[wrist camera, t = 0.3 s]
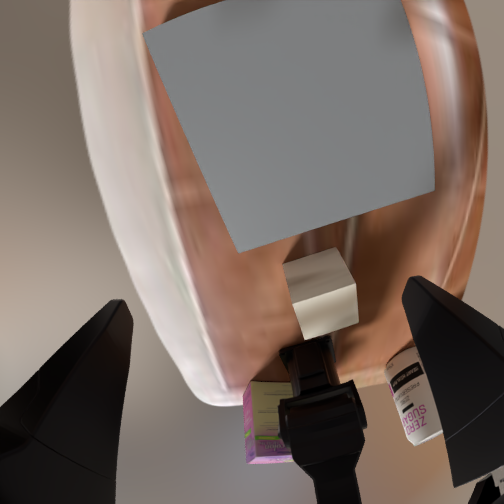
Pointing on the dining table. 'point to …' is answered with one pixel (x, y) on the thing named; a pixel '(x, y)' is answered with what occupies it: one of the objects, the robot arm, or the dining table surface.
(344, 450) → the robot arm
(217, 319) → the dining table surface
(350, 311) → the cube
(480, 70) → the dining table surface
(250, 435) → the box
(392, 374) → the supplement can
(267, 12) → the base board
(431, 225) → the dining table surface
